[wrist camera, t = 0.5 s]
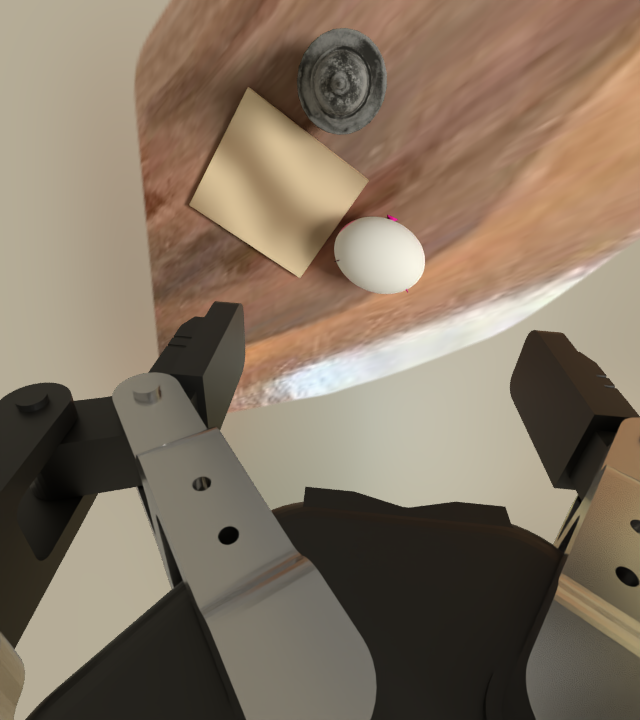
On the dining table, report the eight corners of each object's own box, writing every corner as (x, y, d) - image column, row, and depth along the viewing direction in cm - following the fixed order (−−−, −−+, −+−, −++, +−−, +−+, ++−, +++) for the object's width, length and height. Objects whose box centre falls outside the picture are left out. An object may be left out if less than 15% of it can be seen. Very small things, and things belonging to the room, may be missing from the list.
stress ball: (332, 237, 41) (311, 294, 38) (362, 176, 33) (338, 241, 31) (404, 269, 42) (388, 327, 39) (448, 216, 34) (433, 283, 32)
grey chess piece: (292, 113, 32) (267, 126, 22) (316, 19, 29) (300, -16, 19) (365, 141, 33) (373, 166, 23) (396, 52, 30) (421, 35, 20)
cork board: (249, 87, 32) (247, 87, 31) (368, 179, 35) (368, 180, 34) (191, 203, 36) (189, 205, 36) (300, 275, 39) (299, 278, 39)
